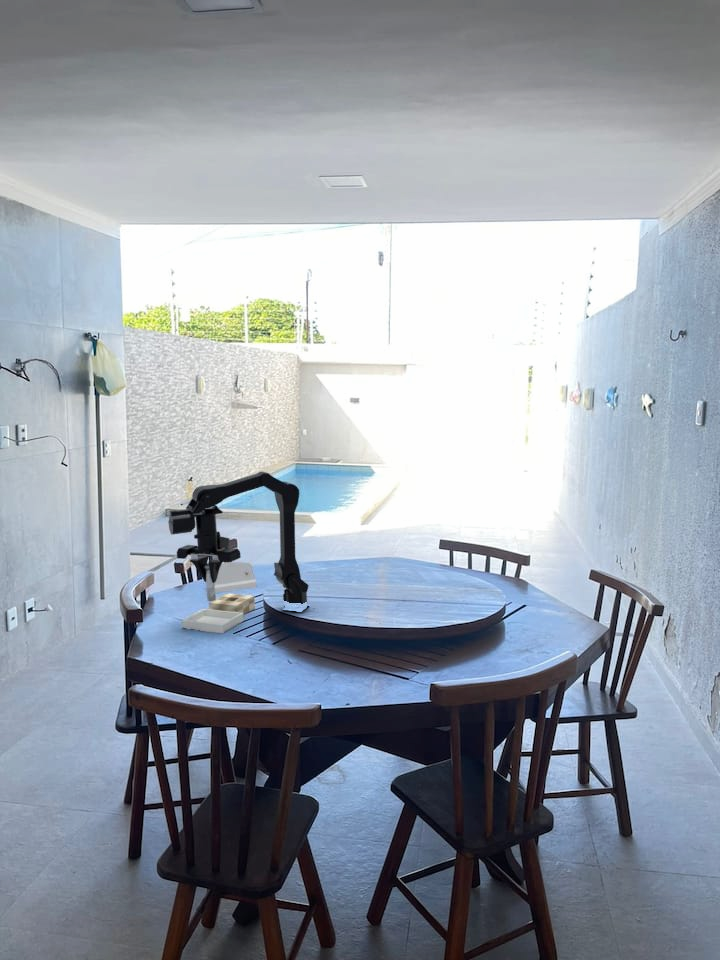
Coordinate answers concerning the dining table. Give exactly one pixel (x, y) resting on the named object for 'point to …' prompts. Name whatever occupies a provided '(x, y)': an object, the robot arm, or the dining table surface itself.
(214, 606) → the block
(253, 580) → the hinge
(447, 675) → the dining table surface
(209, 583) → the pin
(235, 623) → the tray
